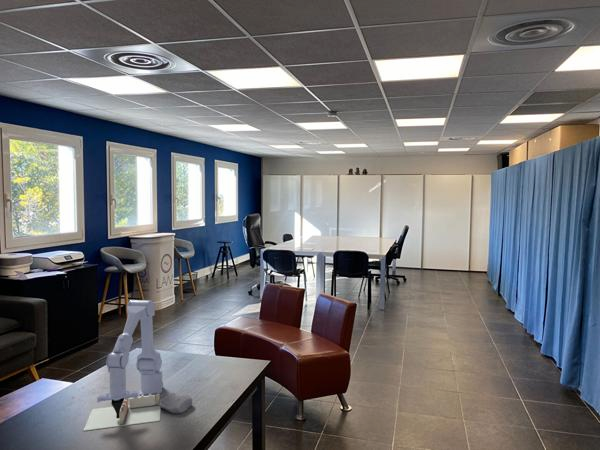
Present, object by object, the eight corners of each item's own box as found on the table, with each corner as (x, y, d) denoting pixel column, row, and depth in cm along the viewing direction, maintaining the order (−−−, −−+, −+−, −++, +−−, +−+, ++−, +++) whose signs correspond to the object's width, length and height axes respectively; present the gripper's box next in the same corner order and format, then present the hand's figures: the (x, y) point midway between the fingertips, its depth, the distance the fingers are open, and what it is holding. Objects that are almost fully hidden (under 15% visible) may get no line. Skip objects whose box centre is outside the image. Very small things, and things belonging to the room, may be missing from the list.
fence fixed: (160, 404, 179) (159, 392, 179) (159, 406, 178) (159, 394, 177) (124, 408, 175) (124, 396, 175) (124, 410, 174) (124, 398, 174)
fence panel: (124, 409, 173) (124, 398, 173) (127, 409, 174) (127, 398, 173) (119, 424, 162) (119, 412, 162) (123, 423, 162) (122, 412, 162)
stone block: (180, 419, 170) (194, 403, 179) (179, 408, 169) (193, 393, 178) (156, 414, 174) (170, 399, 183) (154, 404, 173) (169, 389, 182)
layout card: (161, 401, 182) (161, 400, 182) (159, 421, 166) (159, 420, 166) (92, 409, 174) (92, 408, 174) (83, 431, 158) (83, 430, 158)
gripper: (95, 389, 159) (96, 424, 160) (136, 385, 163) (137, 419, 164) (98, 381, 166) (99, 415, 166) (138, 377, 170) (138, 411, 170)
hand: (118, 417), depth 166 cm, fingers closed
